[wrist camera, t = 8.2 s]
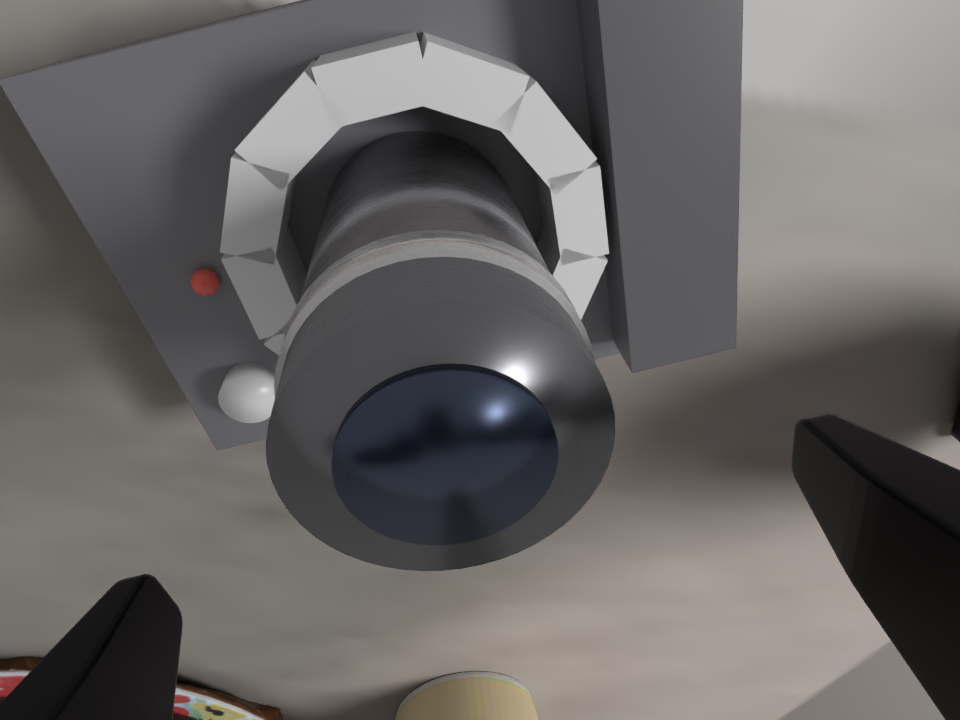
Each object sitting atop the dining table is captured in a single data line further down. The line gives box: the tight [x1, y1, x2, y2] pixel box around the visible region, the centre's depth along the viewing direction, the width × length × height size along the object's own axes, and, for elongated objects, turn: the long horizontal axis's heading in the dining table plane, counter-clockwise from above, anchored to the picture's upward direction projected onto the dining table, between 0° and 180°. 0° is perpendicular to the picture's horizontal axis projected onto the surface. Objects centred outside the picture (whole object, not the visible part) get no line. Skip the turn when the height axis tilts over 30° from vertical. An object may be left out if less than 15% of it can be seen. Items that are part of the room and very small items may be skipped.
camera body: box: [0, 0, 743, 450], centre depth 17 cm, size 16×11×5 cm
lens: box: [266, 131, 615, 571], centre depth 13 cm, size 5×5×9 cm
